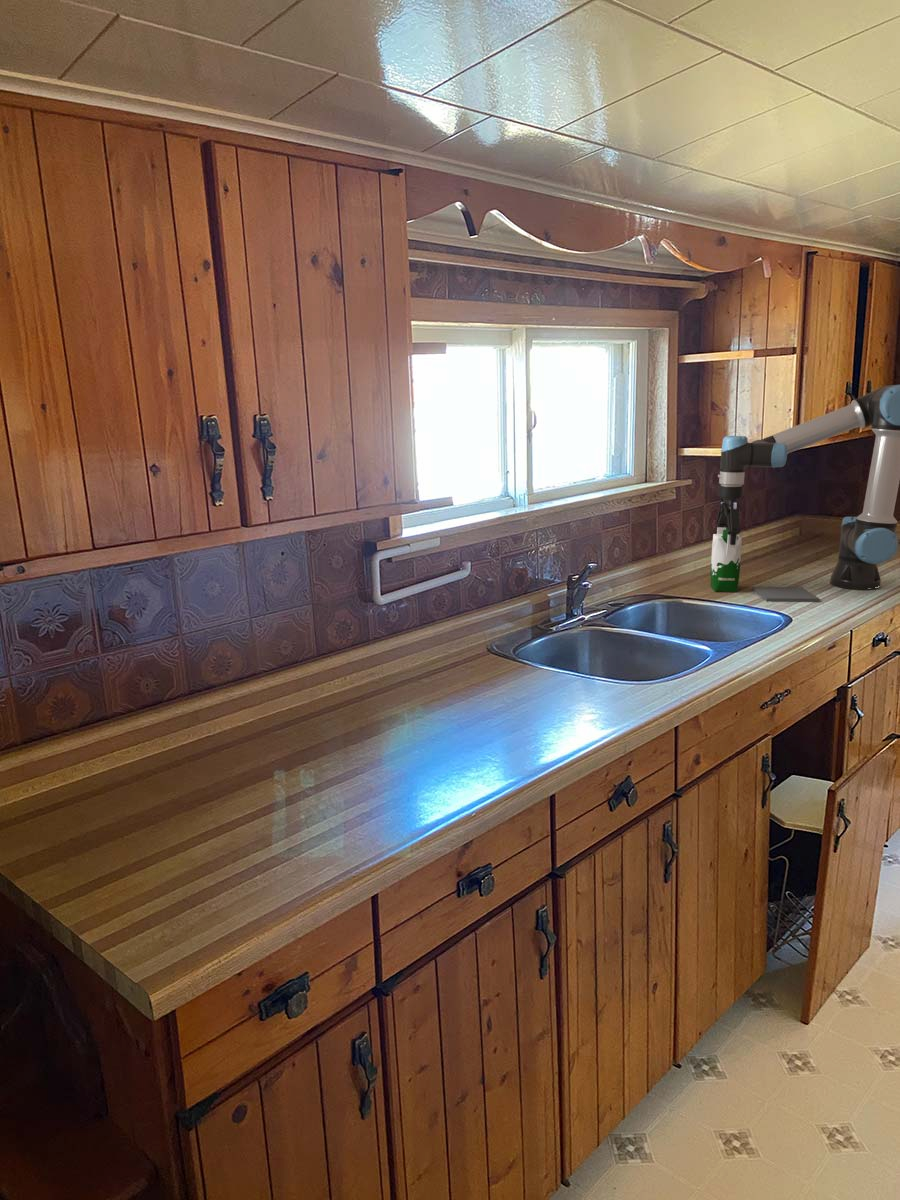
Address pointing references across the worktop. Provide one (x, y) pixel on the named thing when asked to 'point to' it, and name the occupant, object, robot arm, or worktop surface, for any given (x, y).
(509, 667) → the worktop surface
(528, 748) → the worktop surface
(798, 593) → the charcoal mat
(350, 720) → the worktop surface
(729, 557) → the soya milk
